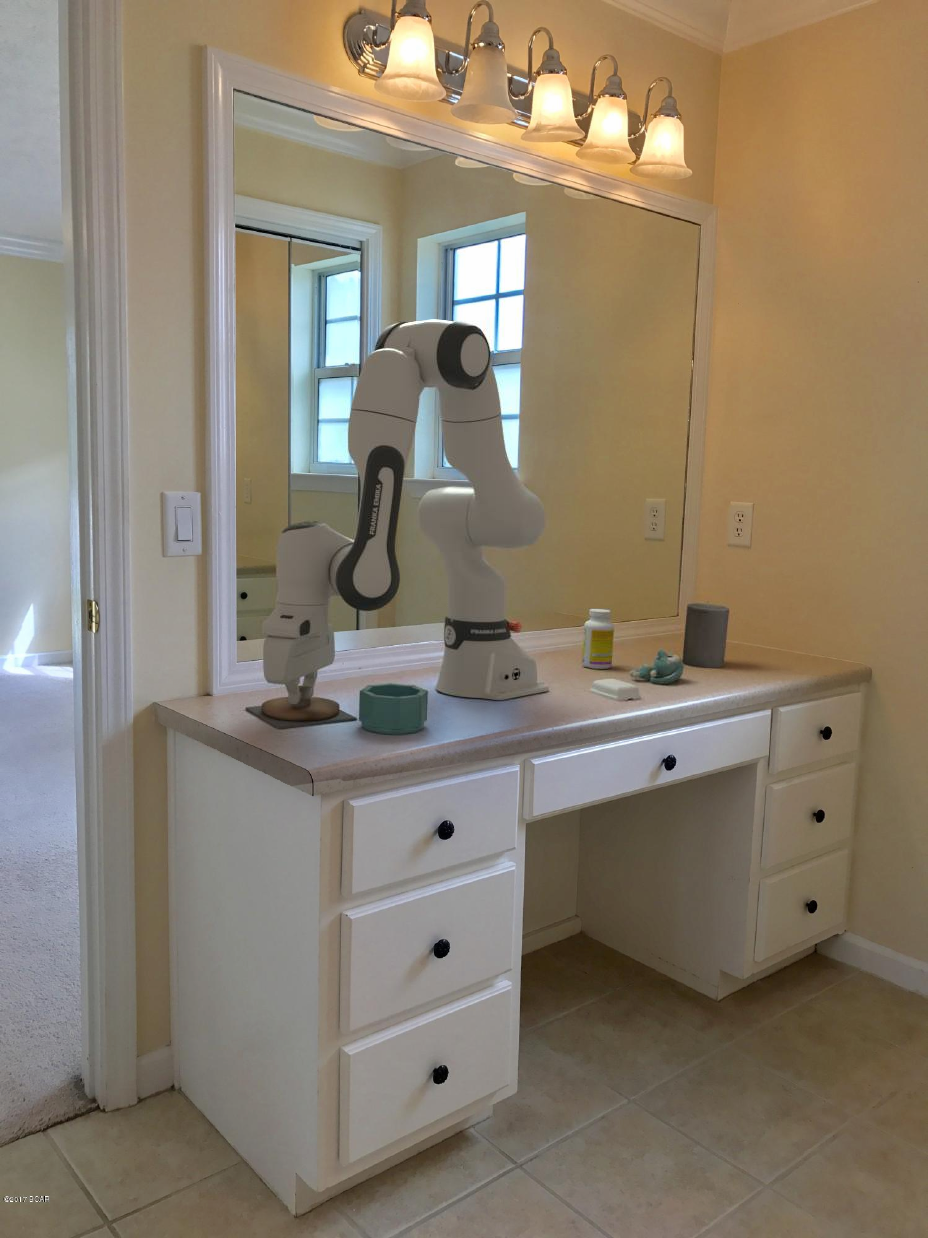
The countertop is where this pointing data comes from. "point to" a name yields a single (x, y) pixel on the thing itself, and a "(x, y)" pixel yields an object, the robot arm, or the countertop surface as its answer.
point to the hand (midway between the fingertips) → (301, 700)
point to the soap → (615, 690)
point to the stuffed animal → (661, 669)
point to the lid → (301, 707)
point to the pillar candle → (705, 635)
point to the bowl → (393, 708)
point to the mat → (284, 724)
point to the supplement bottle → (598, 640)
